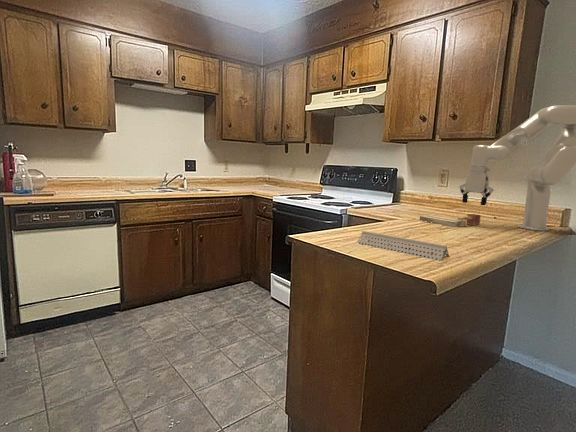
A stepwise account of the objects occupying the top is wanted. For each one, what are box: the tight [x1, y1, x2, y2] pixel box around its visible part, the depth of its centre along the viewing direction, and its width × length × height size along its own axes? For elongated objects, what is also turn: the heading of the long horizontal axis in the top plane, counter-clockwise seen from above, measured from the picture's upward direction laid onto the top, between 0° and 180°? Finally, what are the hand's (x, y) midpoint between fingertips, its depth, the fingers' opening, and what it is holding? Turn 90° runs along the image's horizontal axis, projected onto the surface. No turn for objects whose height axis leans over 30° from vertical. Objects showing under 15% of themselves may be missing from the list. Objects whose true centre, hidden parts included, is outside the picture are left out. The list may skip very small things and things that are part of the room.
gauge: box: [457, 213, 481, 227], centre depth 179 cm, size 15×4×6 cm, turn 122°
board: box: [419, 214, 467, 228], centre depth 186 cm, size 10×20×3 cm, turn 32°
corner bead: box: [356, 230, 450, 262], centre depth 124 cm, size 31×9×5 cm, turn 46°
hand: (473, 203), depth 181 cm, fingers open, 9 cm apart
